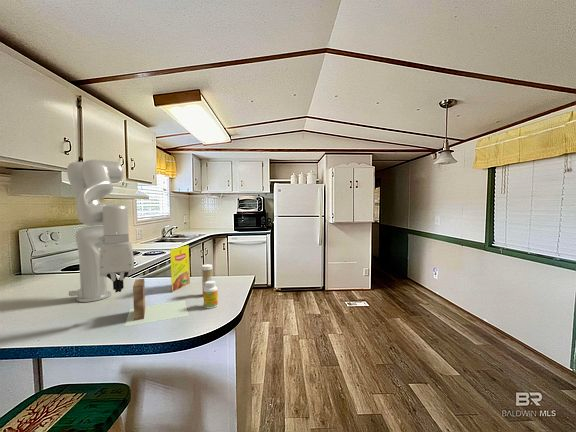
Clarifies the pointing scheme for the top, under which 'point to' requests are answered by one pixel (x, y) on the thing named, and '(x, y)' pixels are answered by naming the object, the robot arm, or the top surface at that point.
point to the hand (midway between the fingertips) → (118, 291)
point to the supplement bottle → (210, 295)
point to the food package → (180, 267)
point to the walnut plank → (139, 299)
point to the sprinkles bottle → (206, 274)
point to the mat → (159, 312)
